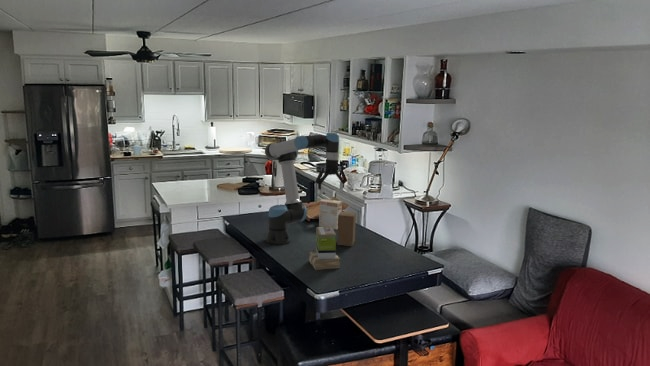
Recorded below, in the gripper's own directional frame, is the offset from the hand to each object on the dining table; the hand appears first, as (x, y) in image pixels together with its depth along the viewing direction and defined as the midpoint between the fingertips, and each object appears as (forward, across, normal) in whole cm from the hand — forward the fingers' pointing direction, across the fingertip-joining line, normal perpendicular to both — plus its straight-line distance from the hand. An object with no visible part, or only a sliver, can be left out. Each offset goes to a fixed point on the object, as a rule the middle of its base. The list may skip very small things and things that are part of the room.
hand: (331, 194), depth 302 cm
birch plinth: (+37, -12, -18) cm, 43 cm away
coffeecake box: (+37, +25, +50) cm, 67 cm away
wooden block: (+37, +18, +12) cm, 43 cm away
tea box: (+31, -11, -17) cm, 37 cm away
